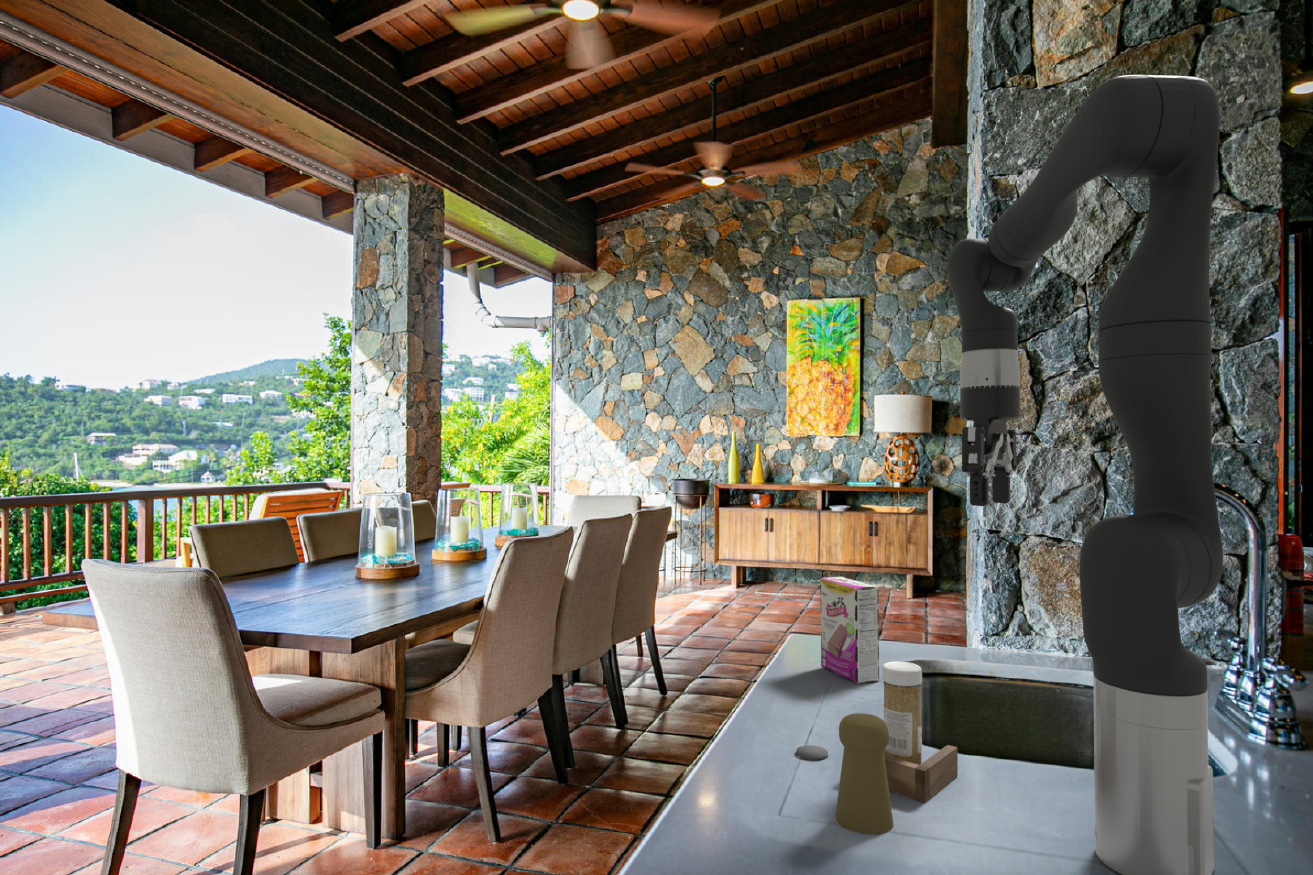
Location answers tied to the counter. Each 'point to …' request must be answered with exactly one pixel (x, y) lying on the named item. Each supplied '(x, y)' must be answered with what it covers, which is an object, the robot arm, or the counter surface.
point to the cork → (864, 776)
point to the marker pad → (812, 752)
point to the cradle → (922, 774)
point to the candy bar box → (850, 629)
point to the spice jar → (903, 710)
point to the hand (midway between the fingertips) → (990, 504)
